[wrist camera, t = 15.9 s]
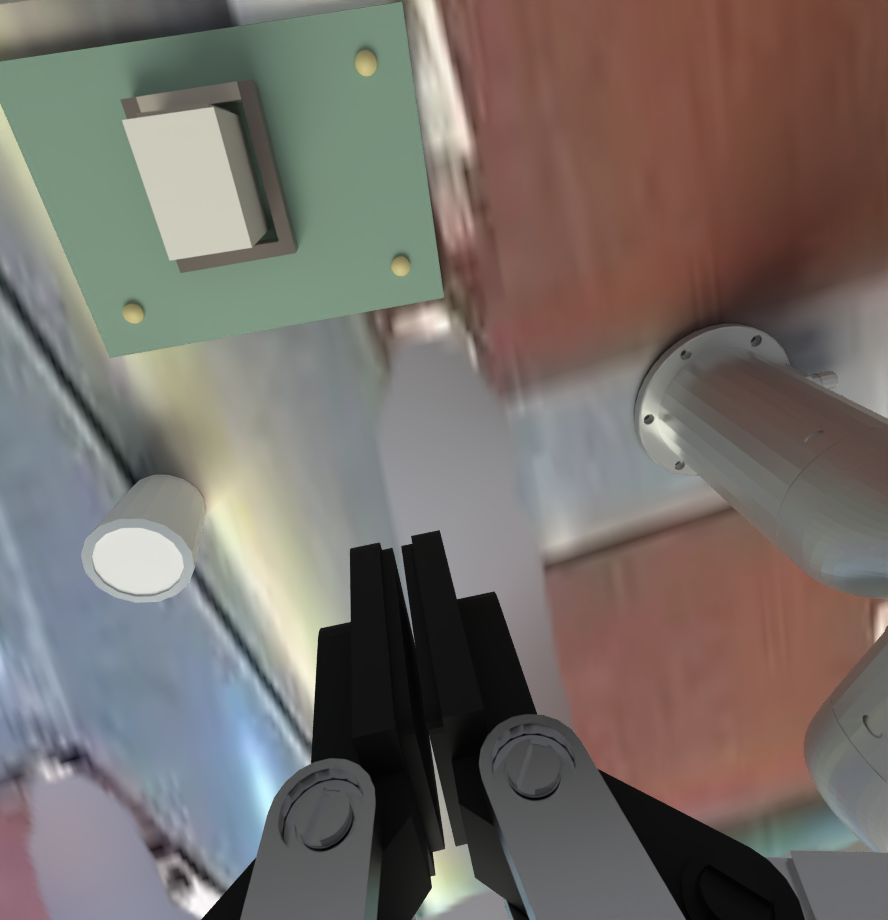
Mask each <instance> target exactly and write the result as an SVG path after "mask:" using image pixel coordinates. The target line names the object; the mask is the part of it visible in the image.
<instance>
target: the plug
mask: <svg viewBox="0 0 888 920" xmlns="http://www.w3.org/2000/svg"><path fill="white" fill-rule="evenodd" d="M136 115H137V118H133V119H126V120H122V122H123V125H124V128H125V131H126V134H127V137H128V140H129V143H130V146H131V149H132V152H133V154H134V157H135V160H136V163H137V166H138V169H139V172H140V175H141V178H142V181H143V184H144V187H145V190H146V193H147V196H148V199H149V202H150V204H151V207H152V210H153V213H154V216H155V219H156V222H157V225H158V228H159V231H160V234H161V237H162V240H163V243H164V246H165V249H166V251H167V254H168V257H169V260H170V261H171V260H177V259H184V258H190V257H196V256H202V255H209V254H215V253H221V252H228V251H234V250H240V249H247V248H252V247H253V246H254V245H255V244H256V243H257V242H258V241H259V240H260V239H261V238H262V237H263V235H264V234H265V233H266V232H267V231H268V230H269V229H270V227H269V223H268V219H267V215H266V211H265V207H264V203H263V199H262V195H261V191H260V187H259V183H258V180H257V176H256V172H255V168H254V164H253V160H252V156H251V152H250V148H249V144H248V140H247V137H246V133H245V129H244V125H243V121H242V117H241V116H240V115H237V114H234V113H231V112H230V111H229V110H226V109H223V108H220V107H217V106H214V105H211V104H208V103H206V104H199V105H192V106H184V107H177V108H170V109H163V110H156V111H149V112H142V113H136Z"/></svg>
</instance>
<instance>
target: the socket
mask: <svg viewBox="0 0 888 920" xmlns="http://www.w3.org/2000/svg"><path fill="white" fill-rule="evenodd" d="M120 100H121V103H122V106H123V109H124V112H125V115H126V118H127V119H133V118H137V115H136V113H142V112H149V111H156V110H163V109H170V108H177V107H184V106H192V105H199V104H206V103H208V104H211V105H214V106H224V105H230V104H236V103H243V107H244V111H245V115H246V119H247V123H248V126H249V130H250V134H251V138H252V142H253V145H254V149H255V153H256V157H257V161H258V164H259V168H260V172H261V176H262V180H263V183H264V187H265V191H266V195H267V199H268V202H269V206H270V210H271V214H272V218H273V221H274V225H275V229H276V233H277V237H278V238H274V239H268V240H262V241H258V242H257V243H256V244H255V245H254V246H253V247H252V248H247V249H240V250H234V251H228V252H221V253H215V254H209V255H202V256H196V257H190V258H184V259H177V260H176V262H177V265H178V268H179V270H180V273H185V272H190V271H196V270H202V269H208V268H214V267H219V266H225V265H231V264H237V263H243V262H248V261H254V260H260V259H266V258H271V257H277V256H283V255H289V254H295V253H296V252H297V250H298V245H297V241H296V237H295V233H294V229H293V225H292V221H291V217H290V213H289V209H288V205H287V201H286V197H285V193H284V189H283V185H282V181H281V177H280V173H279V169H278V165H277V161H276V157H275V153H274V149H273V145H272V141H271V137H270V133H269V129H268V125H267V121H266V117H265V113H264V109H263V105H262V101H261V97H260V93H259V89H258V85H257V82H255V81H254V80H253V79H249V80H243V81H236V82H230V83H223V84H217V85H210V86H204V87H197V88H191V89H184V90H178V91H171V92H165V93H158V94H152V95H145V96H139V97H132V98H126V99H120Z"/></svg>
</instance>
